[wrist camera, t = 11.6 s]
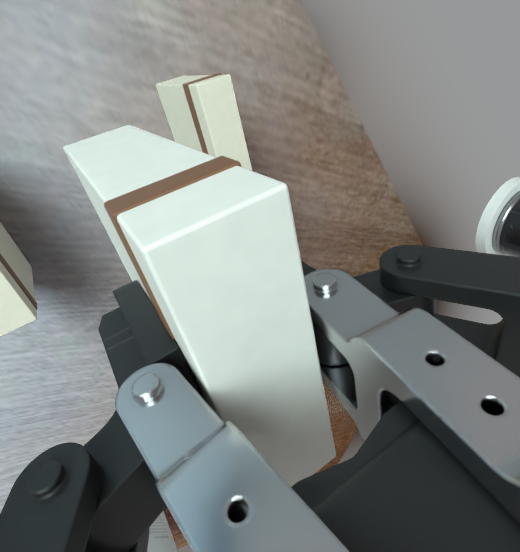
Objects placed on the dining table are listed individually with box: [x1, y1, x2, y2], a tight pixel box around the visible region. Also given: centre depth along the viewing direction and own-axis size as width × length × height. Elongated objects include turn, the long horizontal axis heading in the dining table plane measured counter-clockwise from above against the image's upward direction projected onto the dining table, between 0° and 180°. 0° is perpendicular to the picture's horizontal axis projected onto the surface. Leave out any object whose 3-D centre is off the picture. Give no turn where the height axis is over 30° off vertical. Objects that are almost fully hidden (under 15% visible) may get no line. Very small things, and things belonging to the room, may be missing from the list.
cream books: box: [0, 74, 252, 337], centre depth 21 cm, size 16×8×7 cm, turn 104°
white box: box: [64, 125, 336, 487], centre depth 11 cm, size 2×8×10 cm, turn 14°
